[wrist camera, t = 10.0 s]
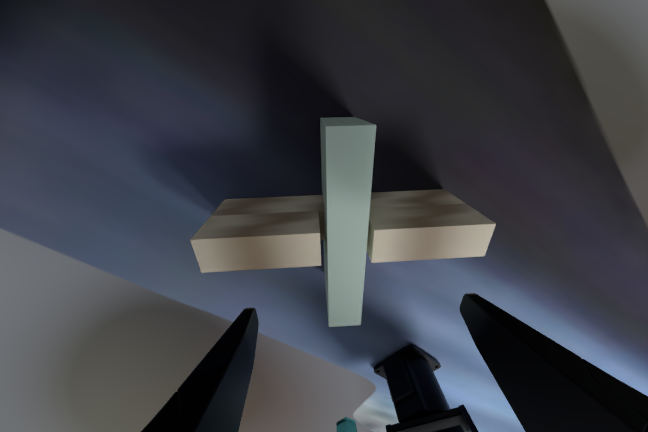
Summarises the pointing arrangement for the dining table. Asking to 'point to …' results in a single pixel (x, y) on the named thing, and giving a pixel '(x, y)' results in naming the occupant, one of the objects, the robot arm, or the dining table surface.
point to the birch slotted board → (309, 228)
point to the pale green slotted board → (346, 213)
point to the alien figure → (346, 425)
